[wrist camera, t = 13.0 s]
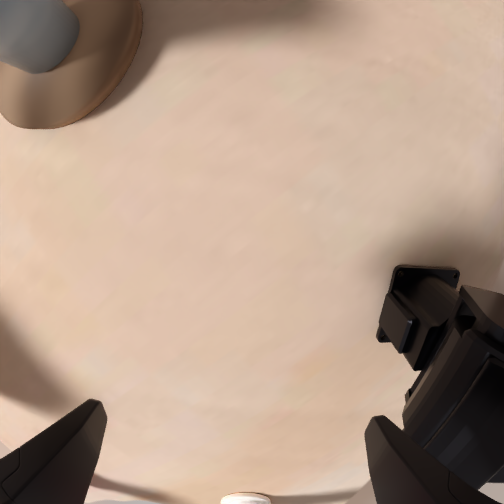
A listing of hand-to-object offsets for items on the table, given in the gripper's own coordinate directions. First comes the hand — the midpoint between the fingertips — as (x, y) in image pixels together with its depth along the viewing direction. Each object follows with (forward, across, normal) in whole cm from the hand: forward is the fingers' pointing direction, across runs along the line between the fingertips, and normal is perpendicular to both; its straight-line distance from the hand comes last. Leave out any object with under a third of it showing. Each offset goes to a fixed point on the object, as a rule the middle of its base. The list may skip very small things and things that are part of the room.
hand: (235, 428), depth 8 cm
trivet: (+14, +14, -16) cm, 26 cm away
